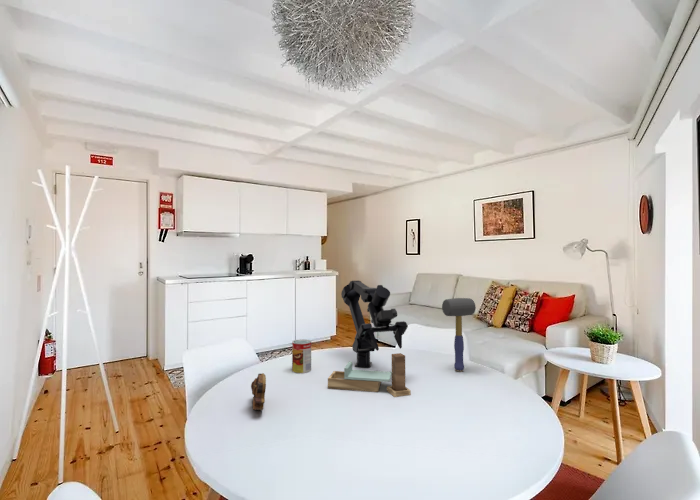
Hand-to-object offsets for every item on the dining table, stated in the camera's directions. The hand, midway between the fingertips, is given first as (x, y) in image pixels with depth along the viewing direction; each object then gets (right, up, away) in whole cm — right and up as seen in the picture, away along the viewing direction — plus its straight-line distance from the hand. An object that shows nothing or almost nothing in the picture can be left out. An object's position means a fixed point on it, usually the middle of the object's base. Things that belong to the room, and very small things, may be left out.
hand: (389, 348), depth 130 cm
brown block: (+2, -13, -7) cm, 15 cm away
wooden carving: (-43, -13, -19) cm, 49 cm away
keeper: (+2, -13, -7) cm, 15 cm away
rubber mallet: (+31, -14, +17) cm, 38 cm away
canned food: (-35, -14, +18) cm, 41 cm away
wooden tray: (-13, -13, -1) cm, 18 cm away
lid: (-8, -10, -1) cm, 12 cm away
